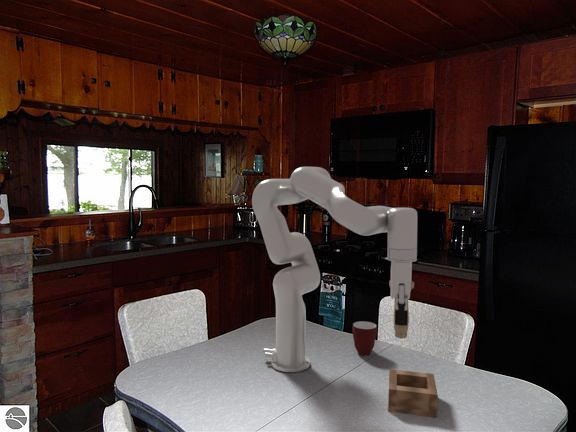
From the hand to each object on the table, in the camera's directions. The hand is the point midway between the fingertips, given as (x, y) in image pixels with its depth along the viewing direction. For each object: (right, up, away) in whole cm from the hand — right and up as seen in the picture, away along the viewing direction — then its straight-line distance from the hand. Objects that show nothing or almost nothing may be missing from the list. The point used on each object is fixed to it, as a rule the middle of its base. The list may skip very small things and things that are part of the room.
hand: (401, 321), depth 118 cm
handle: (0, -4, 0) cm, 4 cm away
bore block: (+3, -22, +1) cm, 22 cm away
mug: (-4, -19, +34) cm, 39 cm away
